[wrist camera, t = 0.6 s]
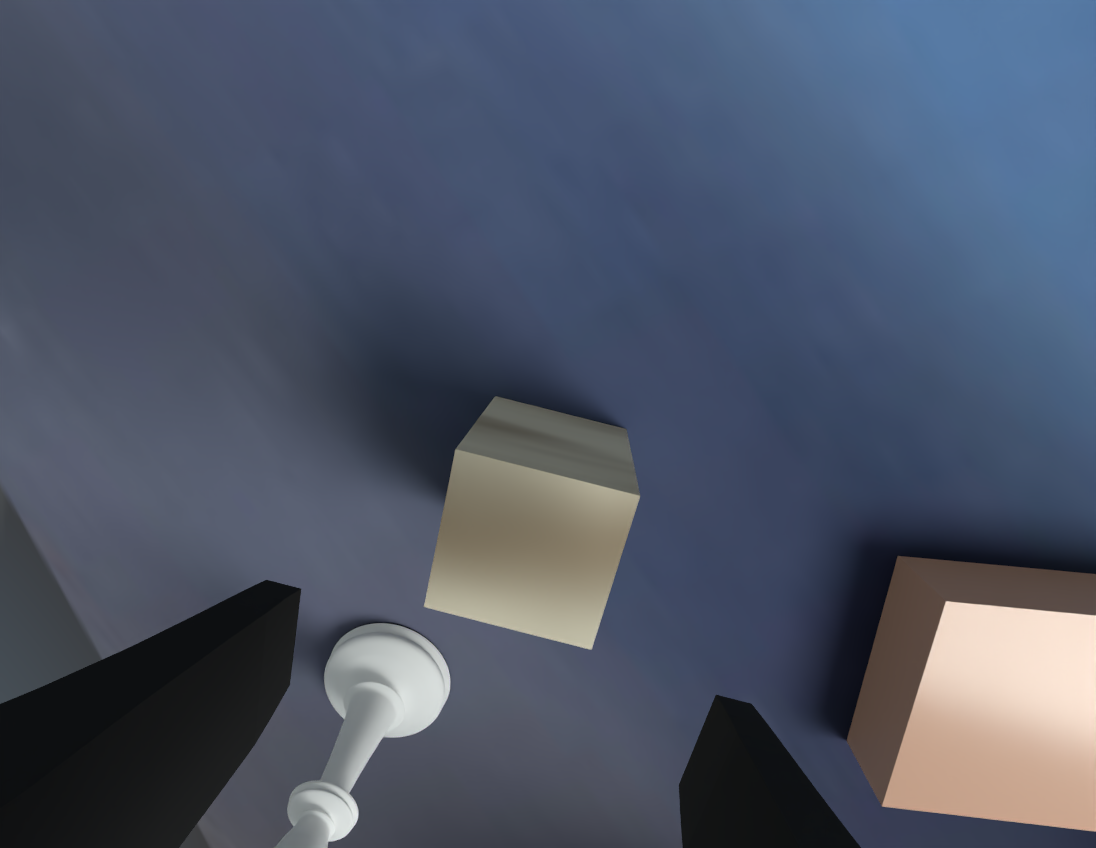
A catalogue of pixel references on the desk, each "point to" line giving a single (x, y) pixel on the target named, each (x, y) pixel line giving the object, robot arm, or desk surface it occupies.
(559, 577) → the metal block
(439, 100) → the desk surface
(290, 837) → the chess piece
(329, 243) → the desk surface
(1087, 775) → the block
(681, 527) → the desk surface
